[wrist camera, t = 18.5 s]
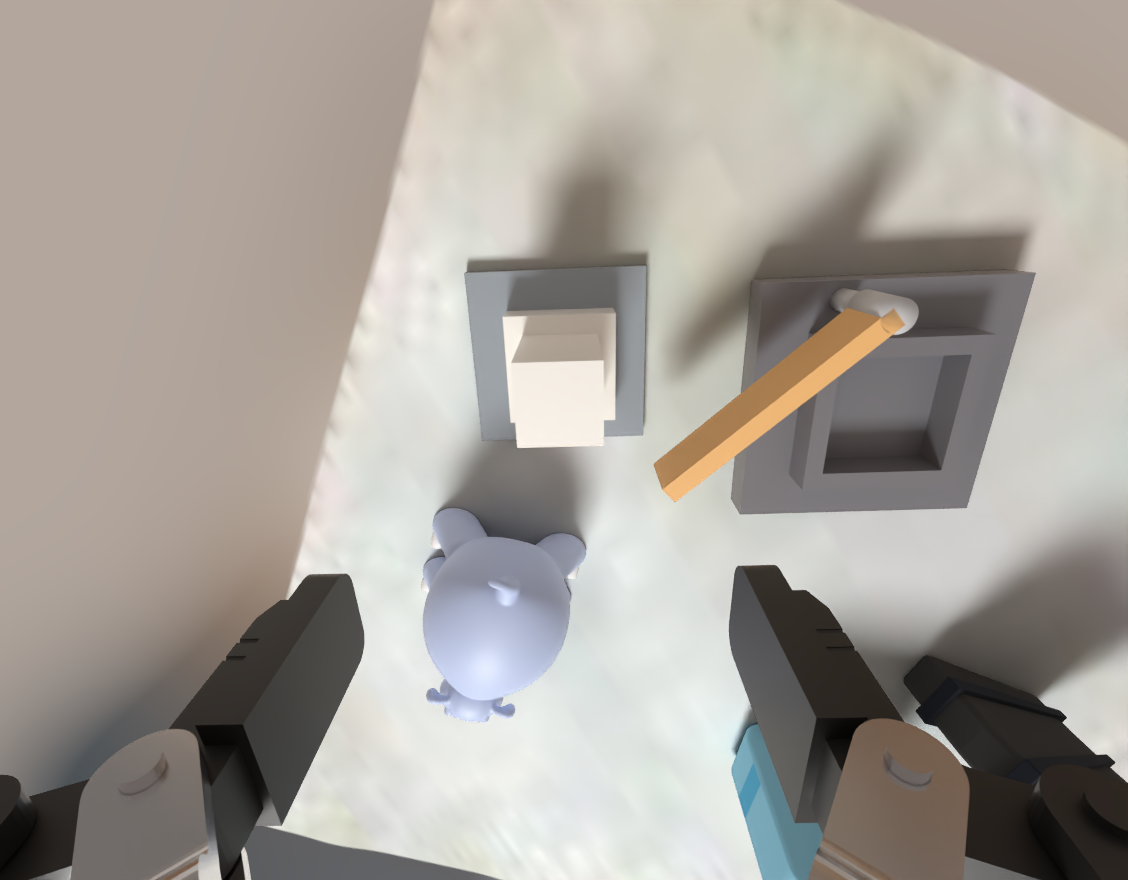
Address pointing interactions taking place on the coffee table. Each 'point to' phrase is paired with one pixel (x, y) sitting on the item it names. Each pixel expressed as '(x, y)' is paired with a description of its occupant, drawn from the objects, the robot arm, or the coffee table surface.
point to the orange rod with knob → (785, 388)
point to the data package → (771, 814)
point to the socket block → (882, 394)
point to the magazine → (997, 724)
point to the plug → (560, 375)
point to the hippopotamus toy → (493, 612)
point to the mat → (549, 292)
